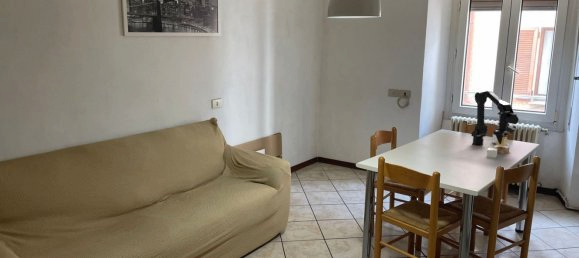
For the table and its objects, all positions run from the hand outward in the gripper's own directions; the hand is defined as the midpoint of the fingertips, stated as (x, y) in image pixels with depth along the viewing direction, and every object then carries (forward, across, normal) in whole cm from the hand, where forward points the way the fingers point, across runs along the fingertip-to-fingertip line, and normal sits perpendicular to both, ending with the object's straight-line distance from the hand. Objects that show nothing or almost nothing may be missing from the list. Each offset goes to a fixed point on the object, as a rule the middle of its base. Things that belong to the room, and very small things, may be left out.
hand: (501, 143), depth 324 cm
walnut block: (+7, 0, 0) cm, 7 cm away
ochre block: (+1, 0, 0) cm, 1 cm away
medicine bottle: (+7, +27, +11) cm, 30 cm away
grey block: (+6, -16, 0) cm, 17 cm away
